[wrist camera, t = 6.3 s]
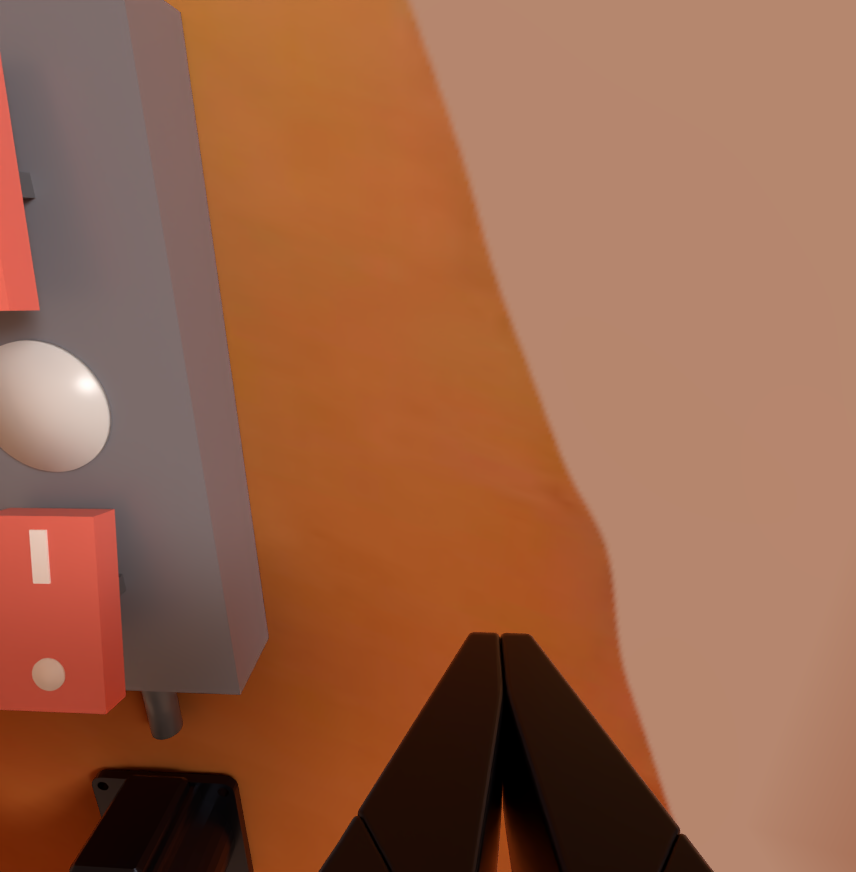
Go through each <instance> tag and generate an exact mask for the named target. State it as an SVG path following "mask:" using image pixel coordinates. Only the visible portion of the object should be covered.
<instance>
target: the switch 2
mask: <svg viewBox="0 0 856 872" xmlns="http://www.w3.org/2000/svg"><path fill="white" fill-rule="evenodd" d="M124 697H126V690H125V673H124V657H123V640H122V623H121V607H120V590H119V574H118V557H117V541H116V524H115V509H65V508H7V509H4V510H0V710H18V711H42V712H66V713H90V714H107V713H108V712H109V711H110V710H111V709H112V708H113V707H115V706H116V705H117V704H118V703H119V702H120V701H121V700H122V699H123V698H124Z"/></svg>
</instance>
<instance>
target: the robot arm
mask: <svg viewBox="0 0 856 872" xmlns="http://www.w3.org/2000/svg"><path fill="white" fill-rule="evenodd" d="M92 787H93V790H94V793H95V797H96V800H97V804H98V807H99V811H100V814H101V817H102V818H101V819H100V821H99V822H98V824H97V826H96V827H95V829H94V830H93V832H92V834H91V835H90V837H89V838H88V840H87V841H86V843H85V845H84V846H83V848H82V849H81V851H80V853H79V854H78V856H77V857H76V859H75V861H74V862H73V864H72V865H71V867H70V872H253V866H252V860H251V854H250V849H249V843H248V838H247V832H246V827H245V821H244V816H243V810H242V805H241V799H240V794H239V788H238V784H237V781H236V780H235V779H233V778H232V777H229V776H221V775H201V774H181V773H160V772H140V771H120V770H102V771H100V772H99V773H98V774H97V776H96V777H95V779H94V780H93V782H92ZM502 796H503V811H504V819H505V828H506V835H507V842H508V849H509V855H510V862H511V869H512V872H714V871H713V870H712V869H711V868H710V867H709V865H708V864H707V863H706V861H705V860H704V859H703V857H702V856H701V855H700V854H699V852H698V851H697V850H696V848H695V847H694V846H693V844H692V843H691V842H690V841H689V839H688V838H687V837H686V835H684V834H680V828H679V827H678V825H677V824H676V823H675V821H674V820H673V819H672V817H671V816H670V815H669V814H668V812H667V811H666V810H665V808H664V807H663V806H662V805H661V803H660V802H659V801H658V799H657V798H656V797H655V795H654V794H653V793H652V792H651V790H650V789H649V788H648V786H647V785H646V784H645V782H644V781H643V780H642V779H641V777H640V776H639V775H638V773H637V772H636V771H635V770H634V768H633V767H632V766H631V764H630V763H629V762H628V760H627V759H626V758H625V757H624V755H623V754H622V753H621V751H620V750H619V749H618V747H617V746H616V745H615V744H614V742H613V741H612V740H611V738H610V737H609V736H608V735H607V733H606V732H605V731H604V729H603V728H602V727H601V725H600V724H599V723H598V722H597V720H596V719H595V718H594V716H593V715H592V714H591V712H590V711H589V710H588V709H587V707H586V706H585V705H584V703H583V702H582V701H581V700H580V698H579V697H578V696H577V694H576V693H575V692H574V690H573V689H572V688H571V687H570V685H569V684H568V683H567V681H566V680H565V679H564V677H563V676H562V675H561V674H560V672H559V671H558V670H557V668H556V667H555V666H554V665H553V663H552V662H551V661H550V659H549V658H548V657H547V655H546V654H545V653H544V652H543V650H542V649H541V648H540V646H539V645H538V644H537V642H536V641H535V640H534V639H533V637H532V636H531V635H529V634H519V633H504V634H502V635H501V637H499V635H498V634H497V633H485V632H473V633H470V634H469V636H468V637H467V638H466V640H465V642H464V643H463V645H462V646H461V648H460V650H459V651H458V653H457V654H456V656H455V658H454V659H453V661H452V662H451V664H450V666H449V667H448V669H447V670H446V672H445V674H444V675H443V677H442V678H441V680H440V681H439V683H438V685H437V686H436V688H435V689H434V691H433V693H432V694H431V696H430V697H429V699H428V701H427V702H426V704H425V705H424V707H423V709H422V710H421V712H420V713H419V715H418V717H417V718H416V720H415V721H414V723H413V724H412V726H411V728H410V729H409V731H408V732H407V734H406V736H405V737H404V739H403V740H402V742H401V744H400V745H399V747H398V748H397V750H396V752H395V753H394V755H393V756H392V758H391V760H390V761H389V763H388V764H387V766H386V768H385V769H384V771H383V772H382V774H381V775H380V777H379V779H378V780H377V782H376V783H375V785H374V787H373V788H372V790H371V791H370V793H369V795H368V796H367V798H366V799H365V801H364V803H363V804H362V806H361V807H360V809H359V811H358V816H355V817H354V818H353V820H352V821H351V823H350V824H349V826H348V827H347V829H346V831H345V832H344V834H343V835H342V837H341V839H340V840H339V842H338V843H337V845H336V847H335V848H334V850H333V851H332V852H331V854H330V855H329V857H328V858H327V860H326V861H325V863H324V864H323V866H322V867H321V869H320V870H319V872H497V862H498V851H499V839H500V827H501V810H502Z"/></svg>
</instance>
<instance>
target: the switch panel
mask: <svg viewBox="0 0 856 872" xmlns="http://www.w3.org/2000/svg"><path fill="white" fill-rule="evenodd" d="M0 55H1V61H2V68H3V74H4V81H5V87H6V94H7V100H8V106H9V113H10V119H11V126H12V132H13V139H14V145H15V152H16V158H17V165H18V171H19V178H20V184H21V191H22V197H23V204H24V210H25V217H26V223H27V230H28V236H29V243H30V249H31V256H32V262H33V269H34V275H35V282H36V288H37V295H38V301H39V307H40V310H27V311H0V510H4V509H7V508H65V509H115V524H116V541H117V557H118V574H119V590H120V607H121V623H122V640H123V657H124V673H125V690H130V691H142V695H143V699H144V704H145V708H146V712H147V716H148V721H149V725H150V729H151V733H152V736H153V737H154V738H156V739H160V740H162V739H167V738H170V737H172V736H174V735H175V734H177V733H178V732H179V731H180V730H181V728H182V726H183V721H182V716H181V711H180V707H179V702H178V697H177V692H183V693H209V694H236V695H240V694H241V692H242V690H243V688H244V686H245V684H246V682H247V680H248V678H249V676H250V674H251V672H252V670H253V668H254V666H255V664H256V662H257V660H258V658H259V656H260V654H261V652H262V650H263V648H264V646H265V644H266V642H267V640H268V638H269V637H268V630H267V623H266V616H265V608H264V601H263V594H262V587H261V580H260V573H259V566H258V559H257V552H256V545H255V538H254V530H253V523H252V516H251V509H250V502H249V495H248V488H247V481H246V474H245V467H244V459H243V452H242V445H241V438H240V431H239V424H238V417H237V410H236V403H235V396H234V389H233V381H232V374H231V367H230V360H229V353H228V346H227V339H226V332H225V325H224V318H223V311H222V303H221V296H220V289H219V282H218V275H217V268H216V261H215V254H214V247H213V240H212V232H211V225H210V218H209V211H208V204H207V197H206V190H205V183H204V176H203V169H202V162H201V154H200V147H199V140H198V133H197V126H196V119H195V112H194V105H193V98H192V91H191V84H190V76H189V69H188V62H187V55H186V48H185V41H184V34H183V27H182V20H181V13H180V12H179V11H178V10H177V9H175V8H174V7H172V6H171V5H170V4H168V3H167V2H165V1H164V0H0Z"/></svg>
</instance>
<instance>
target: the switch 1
mask: <svg viewBox="0 0 856 872" xmlns="http://www.w3.org/2000/svg"><path fill="white" fill-rule="evenodd" d="M27 310H40V307H39V301H38V295H37V288H36V282H35V275H34V269H33V262H32V256H31V249H30V243H29V236H28V230H27V223H26V217H25V210H24V204H23V197H22V191H21V184H20V178H19V171H18V165H17V158H16V152H15V145H14V139H13V132H12V126H11V119H10V113H9V106H8V100H7V94H6V87H5V81H4V74H3V68H2V61H1V55H0V311H27Z"/></svg>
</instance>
